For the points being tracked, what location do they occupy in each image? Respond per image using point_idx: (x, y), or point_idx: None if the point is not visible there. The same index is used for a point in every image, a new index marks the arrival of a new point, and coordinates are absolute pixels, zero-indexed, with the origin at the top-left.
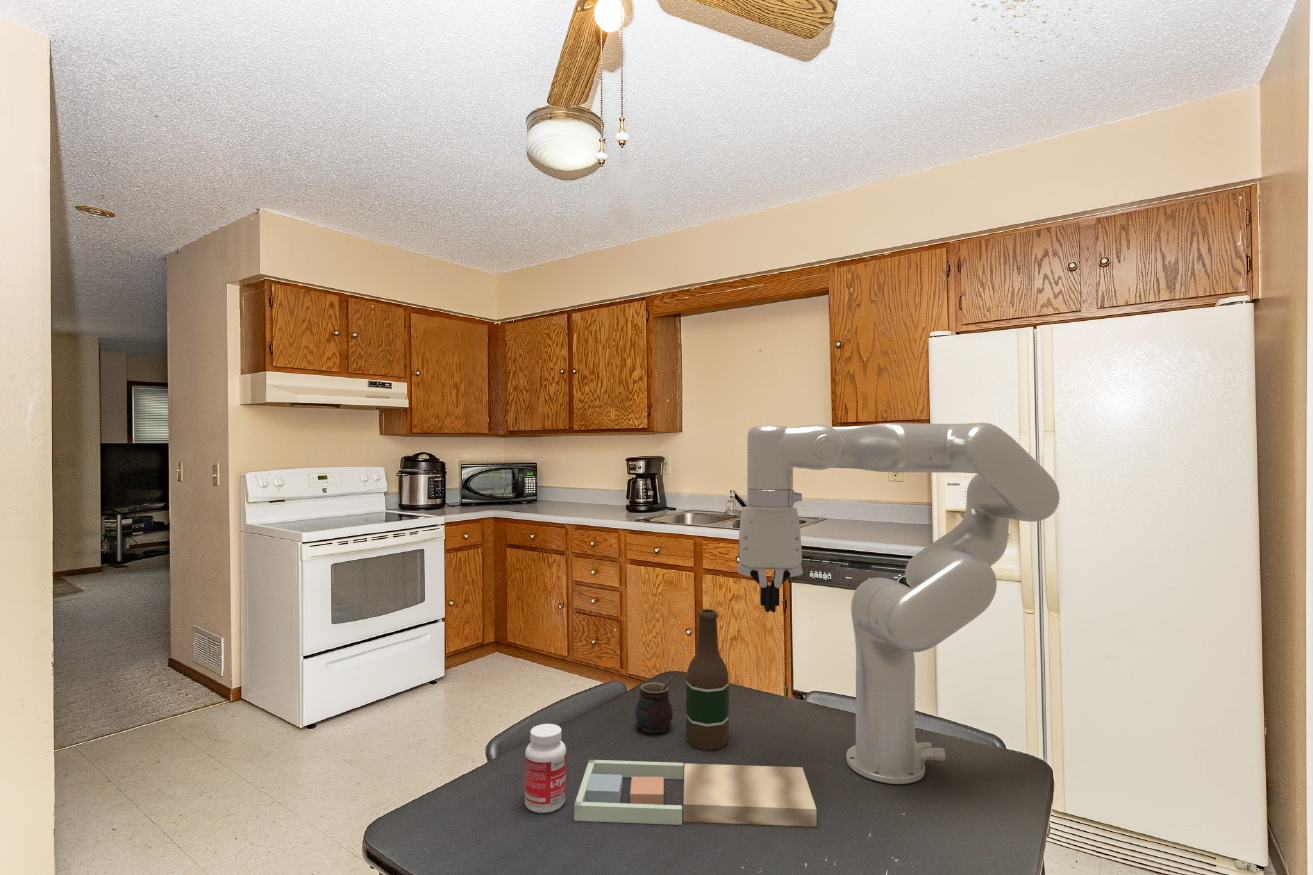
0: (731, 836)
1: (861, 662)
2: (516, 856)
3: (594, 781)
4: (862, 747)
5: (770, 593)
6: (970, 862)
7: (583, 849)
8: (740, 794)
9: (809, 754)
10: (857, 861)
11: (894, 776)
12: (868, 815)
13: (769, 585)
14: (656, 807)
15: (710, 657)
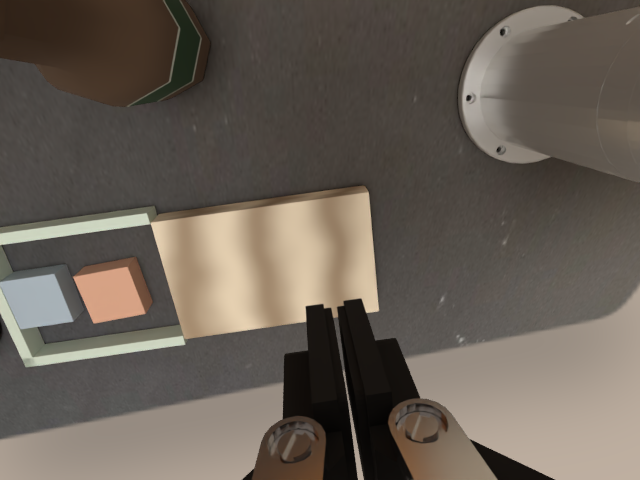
0: (261, 339)
1: (632, 147)
2: (12, 424)
3: (18, 302)
4: (499, 124)
5: (356, 427)
6: (547, 326)
7: (84, 399)
8: (265, 298)
9: (387, 65)
10: (414, 351)
11: (528, 158)
12: (452, 256)
13: (357, 410)
14: (147, 347)
15: (86, 67)
